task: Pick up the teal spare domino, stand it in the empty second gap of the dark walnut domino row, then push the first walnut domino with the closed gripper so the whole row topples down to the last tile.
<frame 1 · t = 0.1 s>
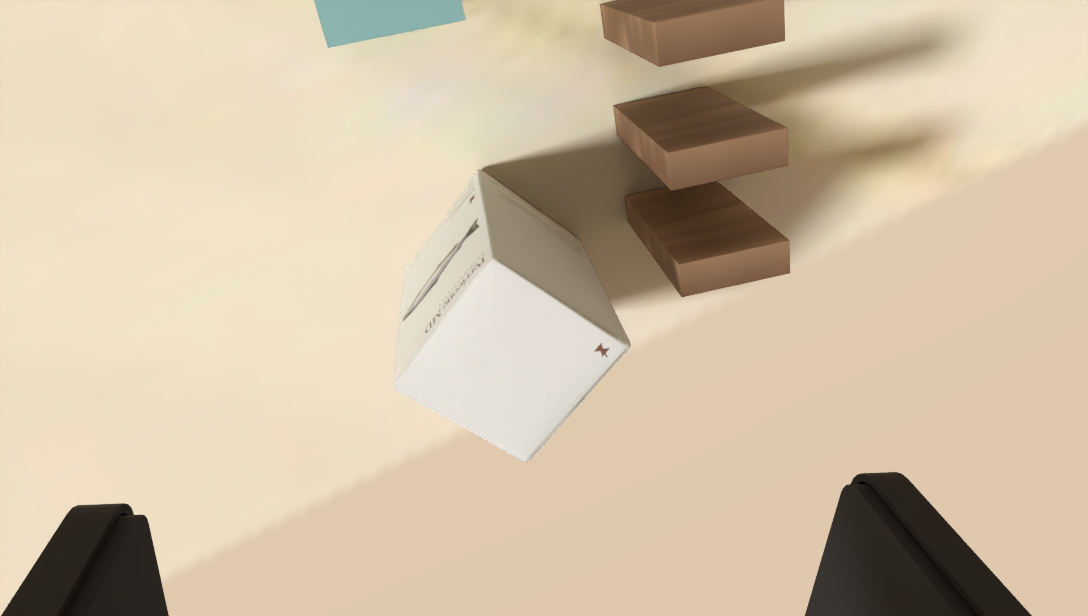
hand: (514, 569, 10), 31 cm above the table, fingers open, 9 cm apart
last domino: (669, 199, 41), on the table
supplement box: (491, 252, 41), on the table
domino 3: (650, 11, 37), on the table
domino 4: (660, 110, 39), on the table
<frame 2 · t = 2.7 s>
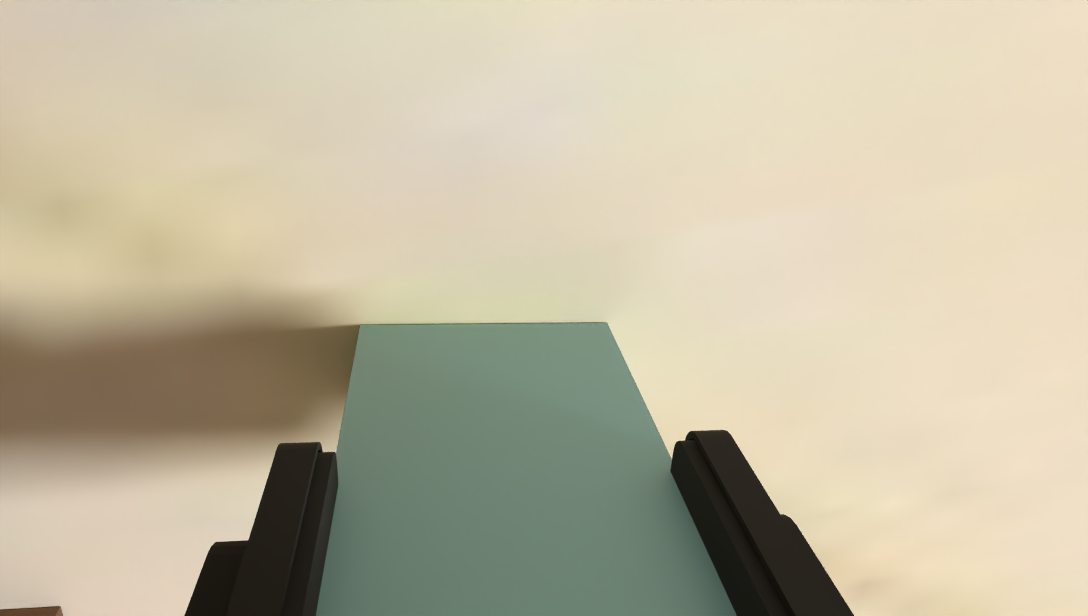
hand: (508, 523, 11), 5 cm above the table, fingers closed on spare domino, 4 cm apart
spare domino: (485, 358, 15), on the table, touching gripper
when the fingers open (6 cm above the table, at t = 8.2 s): spare domino stays where it is, on the table.
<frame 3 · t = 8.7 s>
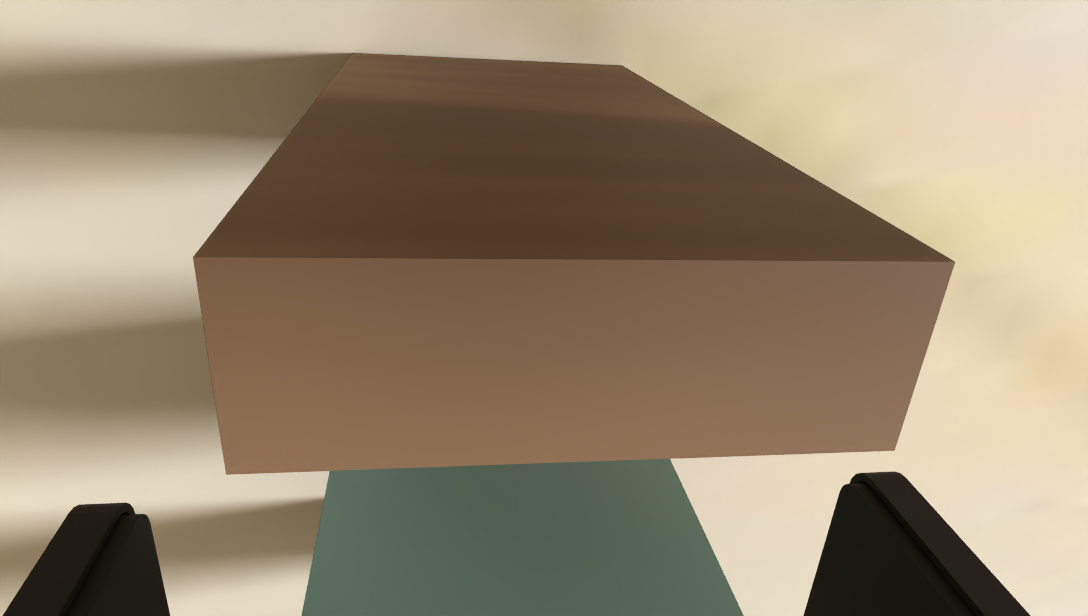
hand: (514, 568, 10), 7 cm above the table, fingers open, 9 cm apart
spare domino: (481, 334, 16), on the table
domino 3: (489, 103, 14), on the table
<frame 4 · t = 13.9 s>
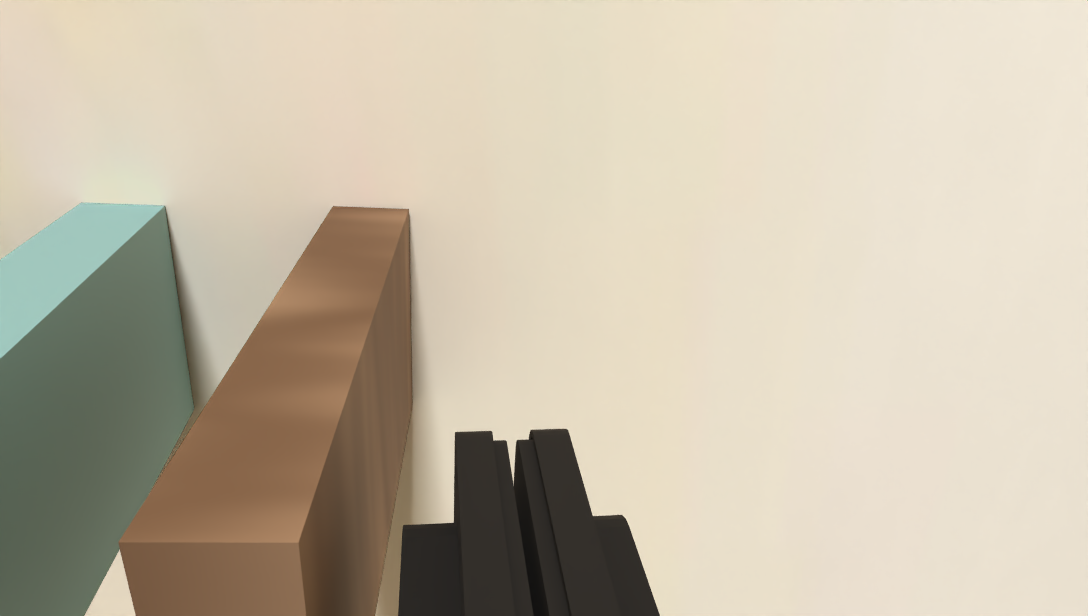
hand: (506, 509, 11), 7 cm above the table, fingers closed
domino 1: (375, 312, 17), on the table
spare domino: (141, 313, 16), on the table
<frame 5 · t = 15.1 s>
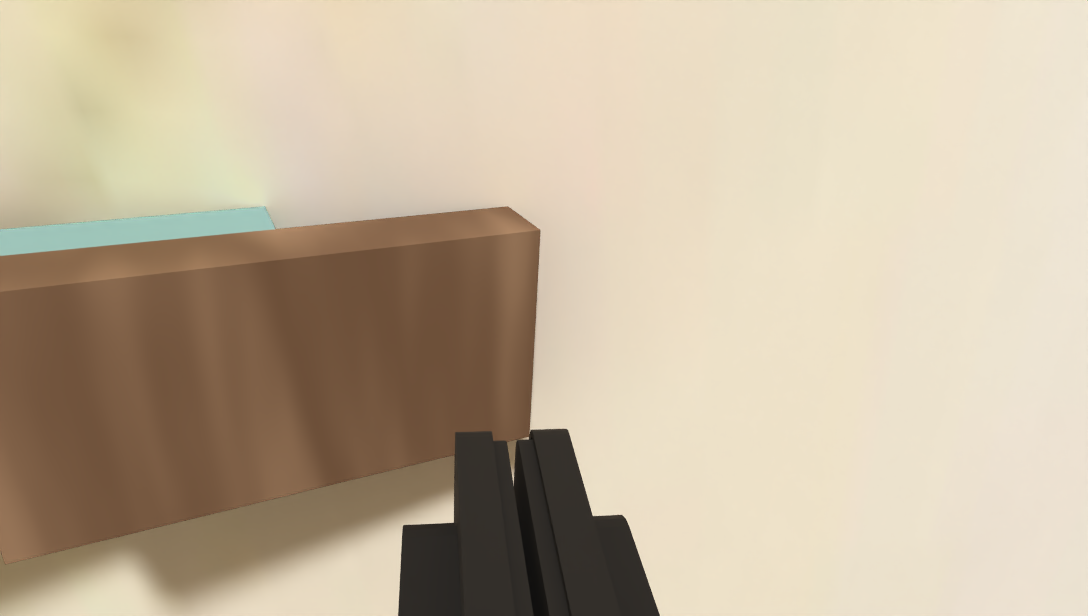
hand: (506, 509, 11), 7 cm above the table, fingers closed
domino 1: (518, 324, 16), point 1 cm above the table, tilted 71°, touching spare domino
spare domino: (282, 329, 16), point 1 cm above the table, tilted 71°, touching domino 1, domino 3
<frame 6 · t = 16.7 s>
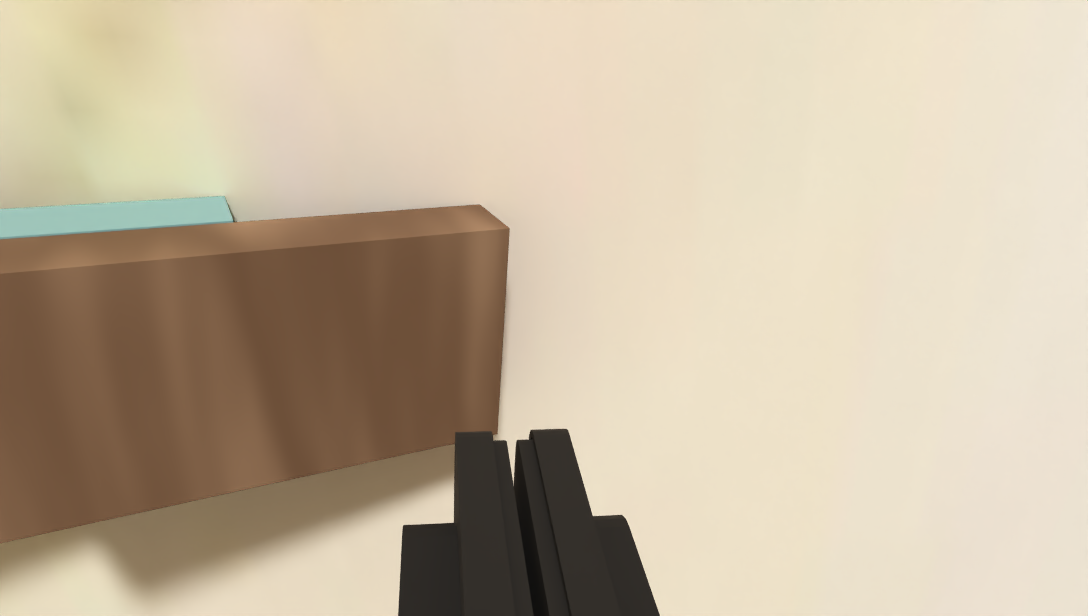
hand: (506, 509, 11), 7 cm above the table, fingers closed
domino 1: (488, 322, 17), point 1 cm above the table, tilted 72°, touching spare domino
spare domino: (240, 320, 16), point 1 cm above the table, tilted 71°, touching domino 1, domino 3
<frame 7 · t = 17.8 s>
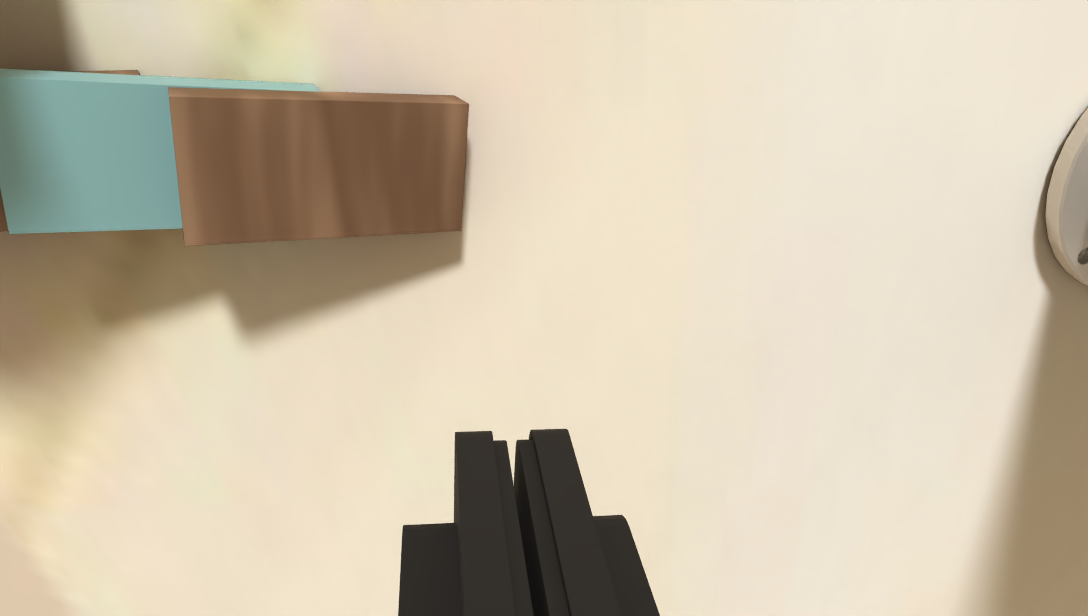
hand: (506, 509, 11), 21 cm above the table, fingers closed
domino 1: (457, 164, 29), point 1 cm above the table, tilted 72°, touching spare domino
spare domino: (317, 154, 28), point 1 cm above the table, tilted 72°, touching domino 1
domino 3: (151, 143, 27), point 1 cm above the table, tilted 70°, touching domino 4
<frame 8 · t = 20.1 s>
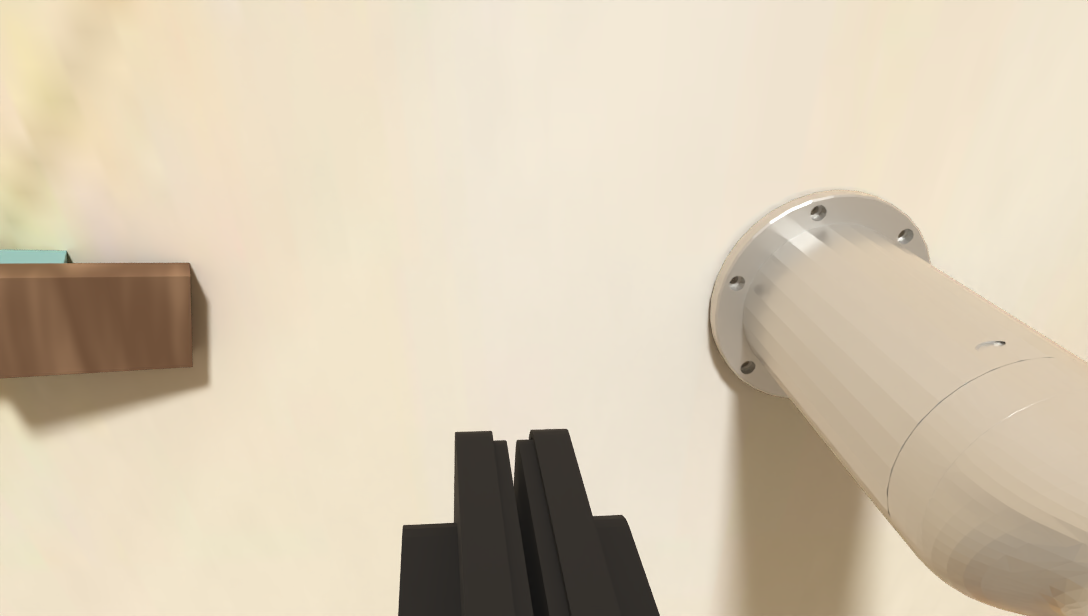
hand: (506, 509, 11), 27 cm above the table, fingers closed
domino 1: (191, 315, 37), point 1 cm above the table, tilted 73°, touching spare domino
spare domino: (68, 304, 36), point 1 cm above the table, tilted 73°, touching domino 1, domino 3
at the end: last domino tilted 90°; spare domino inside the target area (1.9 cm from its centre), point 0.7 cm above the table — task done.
